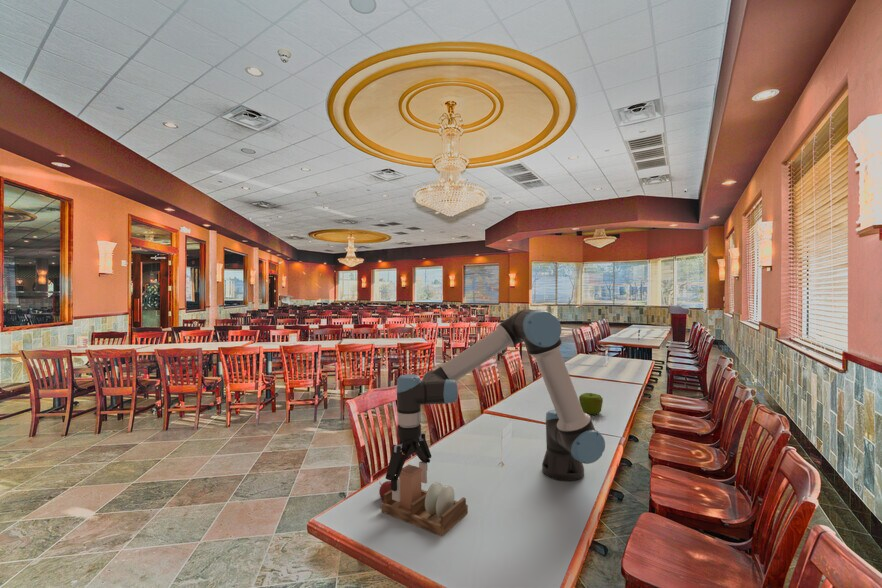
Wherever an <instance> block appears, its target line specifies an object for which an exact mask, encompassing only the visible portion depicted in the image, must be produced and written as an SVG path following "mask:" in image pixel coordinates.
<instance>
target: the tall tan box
mask: <svg viewBox="0 0 882 588" xmlns="http://www.w3.org/2000/svg"><path fill="white" fill-rule="evenodd" d="M421 471H422V468H419V466H415V465H413V464H412V465H411V464H407V465H405V466H403V468H402V470H401V473H400V475H399V478H398V479H400V501H399V502H400V506H403V507H405V508H408V509H411V504H412V503H413V502H415V501H416V500H418V499H419V498H420V497H422V495H421V489H422V482H421Z"/></svg>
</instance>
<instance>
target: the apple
mask: <svg viewBox="0 0 882 588" xmlns="http://www.w3.org/2000/svg"><path fill="white" fill-rule="evenodd" d="M578 399H579V402H580V405H581V407H582V410H583V412H584V413H586V414H588V415H592V416H595V415H599V414H600V413H601V411H602V408H603V399H604V398H603V397H602V396H601V394H597V393H592V392H585V393H581V394H580V395H579V397H578Z"/></svg>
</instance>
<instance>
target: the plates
mask: <svg viewBox="0 0 882 588" xmlns="http://www.w3.org/2000/svg"><path fill="white" fill-rule="evenodd" d="M426 491H427V494H426V497H425V510H426V512H427V513H428V514H430V515H434V514H437V516H438V517H439V518H441V515H442V514H444V513H445V512H446V511H447V510H448V509H450V508H451V507H452V506H453V504H454V500H455V490H454V488H453V487H452V486H450V485H445V486H443V483H441V482H439V481H434V482H433V483H432V484H431V485H430V486H429V487H428V489H427V490H426Z"/></svg>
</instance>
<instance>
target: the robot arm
mask: <svg viewBox="0 0 882 588" xmlns="http://www.w3.org/2000/svg"><path fill="white" fill-rule="evenodd" d="M561 335H562V326H561V323H560V320H559V319H558V317H556V315H555V314H553V313H551V312H550V311H546V310H544V309H529V308H525V309H522V310H519V311H517V312H514V314H512V315H510V316H509V317H507V318H506V319H505V320H503V321H502V322H500V323H499V324H497V326H496V329H495V330H493V331H492V332H490V333H489V334H488V335H485V336H484V337H483V338H482V339H479V340H478V341H477V342H475V343H474V344H472V345H470V346H469V347H468V348H466V349H465V350H463V351H462V352H460V353H459V354H457V355H456V356H454V357H453V358H451V359H450V360H448V361H446V362H445V363H444V364H442V365H440V366H439V367H437V368H436V369H434V370H429V371H427V372H426V373H424V375H423V376H422V380H421V377H420V375H418V374H415V373H414V374H413V373H410V374H402V375H400V376H398V377H397V379H396V411H397V412H396V413H397V424H398V425H397V427H396V428H397V438H398V439H399V444H393V445H392V447H391V449H392V451H391V456H390V459H389V463H388V466H387V470H386V474H385V479H386V480H387V481H391V490H392V500H395V501H398V502H399V501H400V479H399V475H400V473H401V470H402V468H404V465H405V462H406V460H408V458H409V456H411V455H412V454H414V453H415V455H416V456H417V457H418V459H419V460H420V461H418V467H419V468H422V471H421V484H427V483H428V464H429V463H430V462H431V458H432V453H431V451H430V448H429V445H428V443H427V440H426V439H427V438H426V434H425V433H422V424H421V423H422V411H421V410H422V409H421V408H422V407H421V406H424V405H425V406H427V405H447V404H454V403H456V402H457V401H458V398H459V393H458V392H459V389H458V383H457V381H459V380H460V379H462V378H463V377H465V376H466V375H467V374H469V373H471V372H472V371H474V370H476V369H477V368H478V367H480V366H481V365H483V364H485V363H486V362H487V361H489V360H490V359H492V358H493V357H495V356H496V355H498V354H500V353H501V352H503V351H504V350H505V349H507V348H508V347H510V348H514V347H515V346H517V345H518V344H521V343H524V345H525V348H526V351H527V353H528V355H529V356H532V357H533V358H535V361H536V364H537V365H538V370H539V373H540V374H541V377H542V379H543V383H544V384H545V387H546V389H547V392H548V394H549V396H550V397H549V398H550V399H551V404H552V405H553V408H554V409H549V410H548V411H547V412H546V415H545V436H546V451H545V454H544V456H543V460H542V463H541V465H542V466H541V470H542V472H543V474H545V476H547V477H549V478H551V479H554V480H558V481H564V482H565V481H566V482H567V481H568V482H569V481H570V482H573V481H578V480H580V479H583V477H584V476H585V467H584V464H586V465H587V464H588V465H589V464H594V463H595V462H597V461H598V460H599V459H601V457H602V456H603V453H604V452H605V450H606V441H605V438H604V436H603V435H602V433H601V432H600V431H598V430H596V428H595V427H594V424H593V421H592V418H591V416H590V414H586V413H585V412H583V410H582V407H581V404H580V401H579V397H578V395H577V392H576V389H575V387H574V384H573V381H572V379H571V376H570V373H569V371H568V369H567V365H566V363H565V360H564V358H563V356H562V353H561V346H562V345H563V342H562V340H561Z"/></svg>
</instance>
